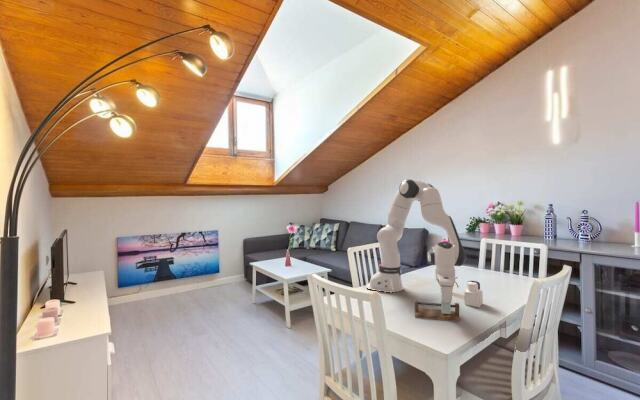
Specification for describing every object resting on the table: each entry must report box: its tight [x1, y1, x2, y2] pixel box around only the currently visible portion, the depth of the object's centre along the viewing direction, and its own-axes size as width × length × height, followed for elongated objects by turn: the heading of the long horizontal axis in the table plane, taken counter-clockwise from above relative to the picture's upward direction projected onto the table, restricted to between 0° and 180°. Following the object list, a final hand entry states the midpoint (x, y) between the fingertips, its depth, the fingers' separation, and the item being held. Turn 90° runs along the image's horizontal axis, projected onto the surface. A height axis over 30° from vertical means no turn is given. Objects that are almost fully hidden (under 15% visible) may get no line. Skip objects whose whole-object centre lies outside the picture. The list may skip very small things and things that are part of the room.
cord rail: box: [414, 299, 461, 322], centre depth 150 cm, size 20×8×6 cm, turn 71°
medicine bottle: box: [464, 280, 484, 308], centre depth 162 cm, size 7×7×12 cm
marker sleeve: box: [440, 294, 452, 314], centre depth 148 cm, size 4×5×7 cm
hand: (445, 305), depth 148 cm, fingers closed on marker sleeve, 5 cm apart
